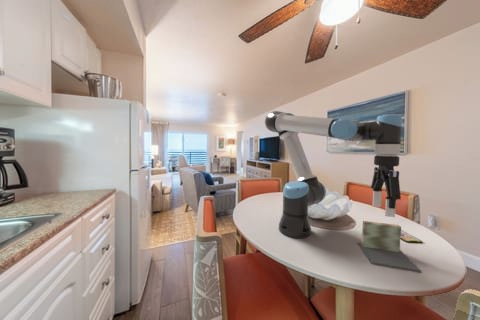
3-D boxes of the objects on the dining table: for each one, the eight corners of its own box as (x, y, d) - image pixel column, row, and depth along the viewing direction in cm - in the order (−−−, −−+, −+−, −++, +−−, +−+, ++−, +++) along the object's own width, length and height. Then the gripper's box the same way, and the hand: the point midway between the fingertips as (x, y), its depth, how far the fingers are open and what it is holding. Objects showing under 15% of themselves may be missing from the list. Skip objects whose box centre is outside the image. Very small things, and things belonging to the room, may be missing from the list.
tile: (363, 246, 72) (364, 222, 71) (361, 244, 74) (363, 220, 73) (399, 252, 69) (401, 227, 68) (396, 249, 70) (398, 224, 70)
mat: (371, 263, 62) (371, 262, 62) (357, 243, 76) (357, 241, 76) (421, 272, 58) (421, 270, 58) (397, 249, 72) (397, 247, 72)
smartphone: (395, 226, 91) (423, 241, 76) (395, 228, 91) (423, 244, 76) (380, 226, 92) (406, 241, 77) (380, 227, 92) (406, 243, 77)
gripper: (418, 157, 56) (412, 224, 58) (384, 154, 78) (380, 203, 80) (390, 156, 59) (385, 221, 60) (364, 154, 81) (361, 201, 82)
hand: (382, 211), depth 70 cm, fingers open, 10 cm apart
